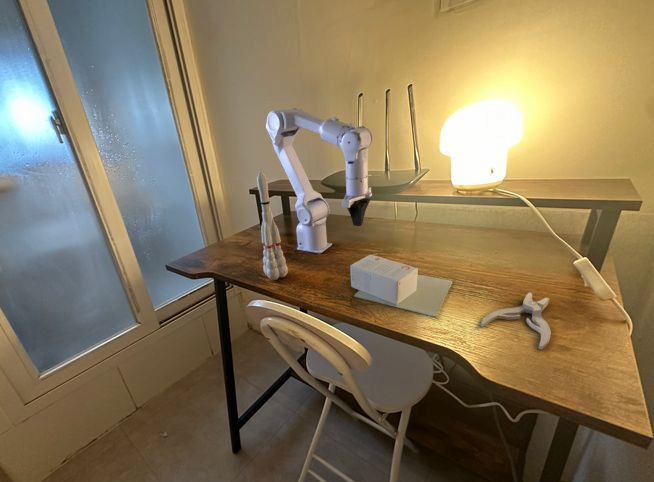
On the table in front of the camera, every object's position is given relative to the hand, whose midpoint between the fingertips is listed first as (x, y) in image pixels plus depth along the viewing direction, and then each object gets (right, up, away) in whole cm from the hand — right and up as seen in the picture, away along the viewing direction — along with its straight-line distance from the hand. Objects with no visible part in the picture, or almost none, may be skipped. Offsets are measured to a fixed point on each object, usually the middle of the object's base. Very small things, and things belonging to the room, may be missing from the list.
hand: (357, 225), depth 86 cm
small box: (-2, -13, -9) cm, 16 cm away
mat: (+7, -17, -14) cm, 23 cm away
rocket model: (-23, -15, +1) cm, 28 cm away
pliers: (+25, -22, -28) cm, 43 cm away
